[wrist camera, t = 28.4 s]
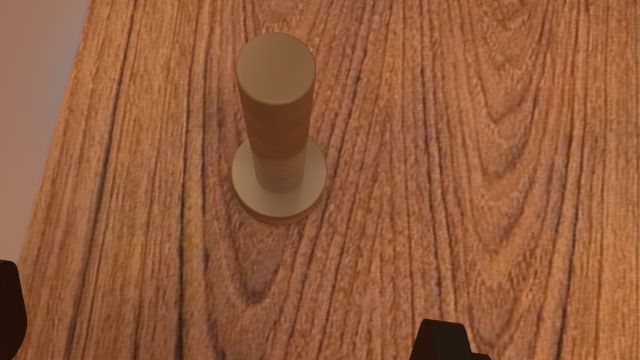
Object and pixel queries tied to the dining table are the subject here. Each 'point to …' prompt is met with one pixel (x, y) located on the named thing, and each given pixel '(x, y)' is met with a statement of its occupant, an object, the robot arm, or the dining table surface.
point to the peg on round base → (277, 131)
